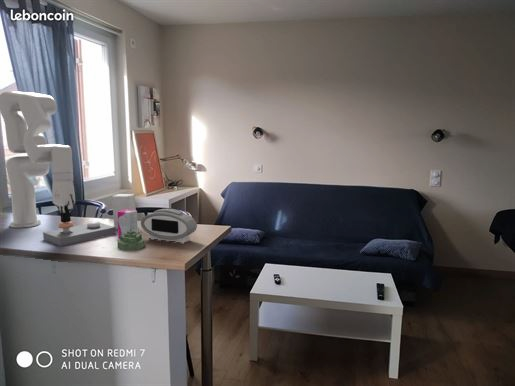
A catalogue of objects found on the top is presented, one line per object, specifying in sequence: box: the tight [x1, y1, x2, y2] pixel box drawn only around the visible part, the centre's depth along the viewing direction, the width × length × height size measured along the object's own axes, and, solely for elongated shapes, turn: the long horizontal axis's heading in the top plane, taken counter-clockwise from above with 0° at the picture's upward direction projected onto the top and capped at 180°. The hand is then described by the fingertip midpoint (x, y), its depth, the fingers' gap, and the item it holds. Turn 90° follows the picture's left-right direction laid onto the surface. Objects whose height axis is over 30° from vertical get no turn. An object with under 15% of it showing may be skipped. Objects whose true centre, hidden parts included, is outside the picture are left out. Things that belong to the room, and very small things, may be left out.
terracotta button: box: [58, 220, 74, 234], centre depth 167 cm, size 5×5×5 cm
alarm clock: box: [140, 208, 198, 244], centre depth 169 cm, size 23×6×13 cm, turn 68°
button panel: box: [42, 222, 117, 247], centre depth 172 cm, size 14×24×3 cm, turn 142°
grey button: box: [86, 220, 101, 229], centre depth 177 cm, size 5×5×5 cm
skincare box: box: [111, 193, 136, 231], centre depth 185 cm, size 8×7×16 cm
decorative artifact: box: [117, 229, 146, 251], centre depth 159 cm, size 10×7×10 cm
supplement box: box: [117, 210, 139, 240], centre depth 171 cm, size 6×6×12 cm
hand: (65, 221), depth 166 cm, fingers closed
